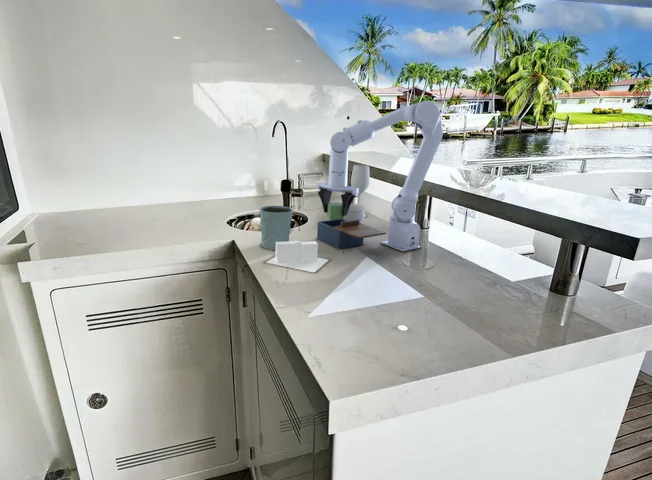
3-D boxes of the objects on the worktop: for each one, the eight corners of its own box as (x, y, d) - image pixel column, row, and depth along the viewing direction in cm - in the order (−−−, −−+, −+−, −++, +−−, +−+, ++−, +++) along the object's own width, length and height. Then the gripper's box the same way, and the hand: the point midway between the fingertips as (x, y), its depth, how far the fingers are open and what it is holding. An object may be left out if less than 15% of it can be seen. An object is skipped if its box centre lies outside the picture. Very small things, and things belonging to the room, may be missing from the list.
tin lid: (385, 234, 115) (386, 227, 114) (359, 238, 110) (359, 231, 109) (358, 224, 125) (359, 217, 124) (333, 228, 120) (333, 221, 119)
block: (343, 219, 123) (344, 205, 121) (329, 219, 122) (330, 205, 121) (340, 216, 127) (340, 202, 125) (326, 216, 126) (327, 202, 125)
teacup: (365, 231, 139) (367, 210, 136) (335, 230, 139) (337, 209, 136) (359, 221, 152) (361, 202, 149) (332, 220, 152) (333, 201, 149)
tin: (362, 244, 124) (364, 226, 122) (338, 249, 119) (340, 230, 117) (340, 234, 134) (341, 218, 132) (316, 238, 129) (317, 221, 127)
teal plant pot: (253, 245, 121) (253, 208, 117) (275, 238, 128) (276, 203, 124) (276, 253, 114) (276, 214, 110) (298, 245, 122) (299, 209, 118)
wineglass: (367, 218, 157) (372, 166, 150) (349, 217, 157) (353, 166, 150) (364, 213, 164) (369, 164, 158) (347, 213, 165) (350, 164, 158)
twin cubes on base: (265, 262, 107) (265, 243, 105) (283, 251, 116) (283, 233, 114) (314, 272, 101) (315, 252, 99) (329, 259, 110) (330, 240, 108)
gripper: (364, 172, 118) (361, 215, 123) (325, 168, 127) (323, 208, 131) (353, 175, 113) (350, 219, 118) (313, 170, 122) (311, 211, 126)
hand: (335, 213), depth 124 cm, fingers closed on block, 6 cm apart
